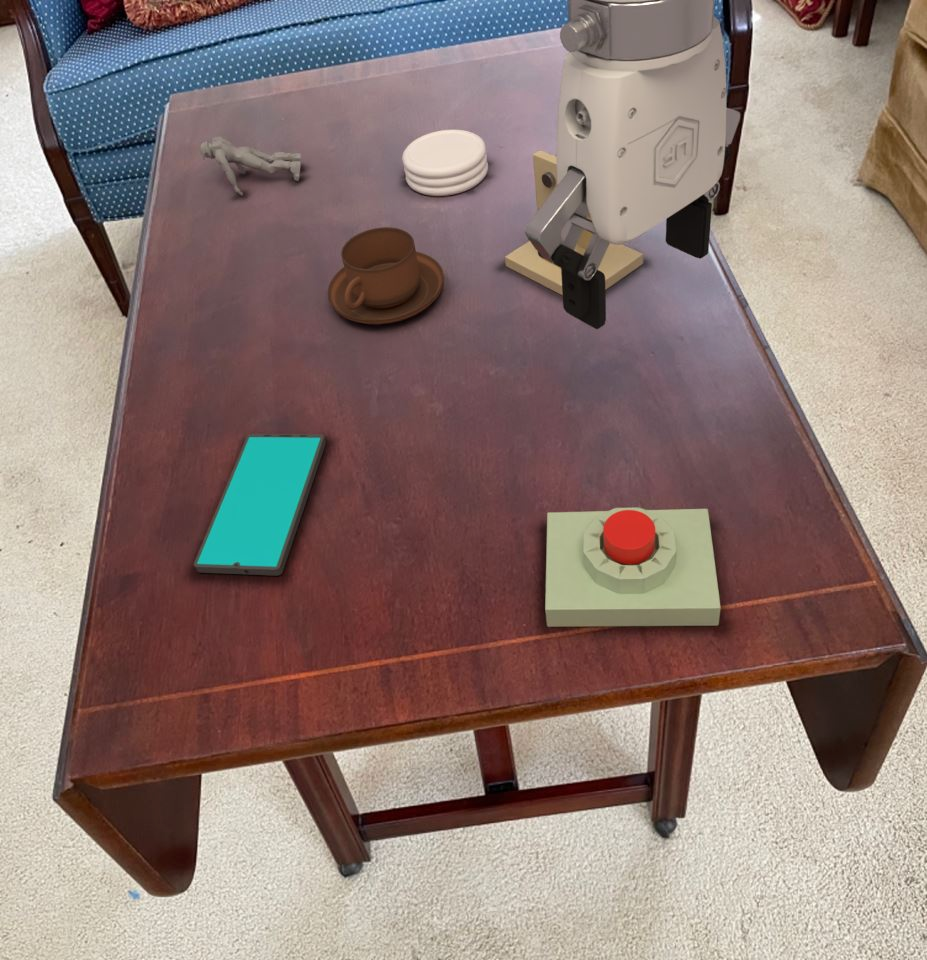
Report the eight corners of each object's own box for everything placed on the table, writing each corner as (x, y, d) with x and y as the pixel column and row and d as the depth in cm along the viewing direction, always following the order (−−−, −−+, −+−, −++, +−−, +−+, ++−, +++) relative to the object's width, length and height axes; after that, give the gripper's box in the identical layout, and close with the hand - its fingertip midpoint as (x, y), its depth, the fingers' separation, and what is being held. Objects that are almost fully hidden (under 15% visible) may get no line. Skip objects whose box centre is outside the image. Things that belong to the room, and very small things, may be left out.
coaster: (420, 153, 117) (416, 127, 115) (497, 155, 115) (494, 128, 112) (395, 196, 111) (390, 169, 108) (476, 199, 108) (472, 171, 106)
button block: (706, 527, 72) (709, 492, 69) (718, 625, 66) (722, 592, 63) (548, 530, 74) (545, 496, 71) (547, 627, 67) (543, 594, 65)
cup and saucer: (432, 337, 92) (422, 285, 87) (317, 333, 95) (302, 283, 90) (457, 265, 100) (449, 214, 95) (350, 264, 102) (337, 214, 98)
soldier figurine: (297, 180, 121) (201, 164, 118) (301, 142, 118) (203, 124, 115) (296, 206, 117) (196, 190, 114) (300, 166, 113) (198, 149, 110)
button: (653, 524, 68) (653, 508, 67) (656, 564, 66) (657, 548, 64) (603, 525, 68) (602, 510, 67) (604, 565, 66) (603, 549, 65)
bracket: (643, 263, 96) (645, 146, 86) (582, 306, 92) (577, 188, 83) (565, 227, 102) (559, 114, 93) (505, 266, 99) (493, 152, 89)
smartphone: (324, 433, 83) (278, 569, 73) (327, 440, 84) (281, 576, 74) (246, 433, 84) (191, 566, 74) (249, 439, 85) (194, 572, 75)
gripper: (573, 95, 44) (584, 374, 56) (803, -30, 50) (768, 244, 63) (469, 56, 48) (501, 323, 60) (693, -55, 54) (680, 207, 67)
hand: (636, 283), depth 61 cm, fingers open, 9 cm apart
